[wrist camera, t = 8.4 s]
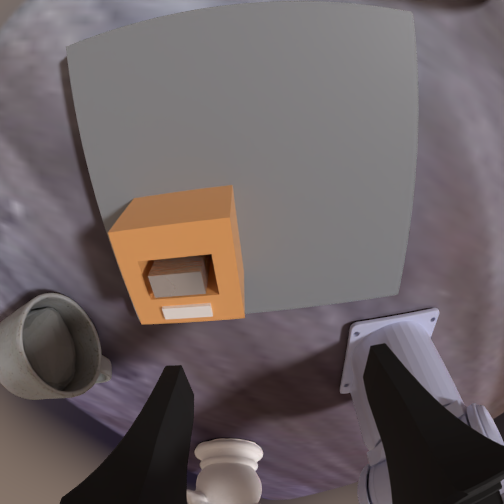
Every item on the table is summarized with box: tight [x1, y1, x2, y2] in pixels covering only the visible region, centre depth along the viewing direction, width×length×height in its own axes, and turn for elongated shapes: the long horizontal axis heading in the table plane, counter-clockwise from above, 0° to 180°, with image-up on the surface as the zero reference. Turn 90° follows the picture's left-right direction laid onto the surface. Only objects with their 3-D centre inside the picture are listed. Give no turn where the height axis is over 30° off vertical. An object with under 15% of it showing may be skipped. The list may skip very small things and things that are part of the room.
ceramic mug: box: [0, 293, 112, 400], centre depth 20 cm, size 11×8×8 cm
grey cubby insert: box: [148, 254, 211, 298], centre depth 16 cm, size 1×2×4 cm, turn 95°
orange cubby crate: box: [108, 185, 245, 324], centre depth 16 cm, size 5×5×4 cm
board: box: [66, 1, 418, 321], centre depth 16 cm, size 18×18×1 cm
